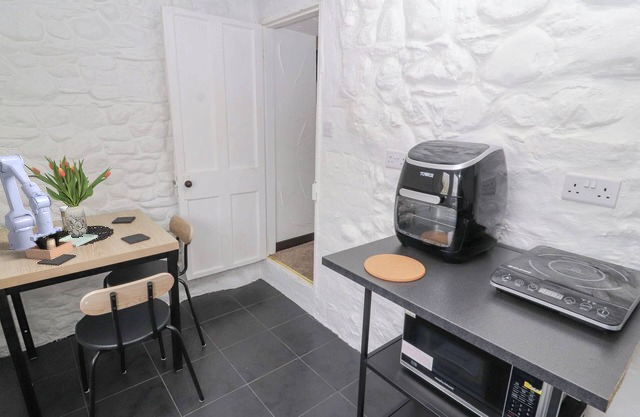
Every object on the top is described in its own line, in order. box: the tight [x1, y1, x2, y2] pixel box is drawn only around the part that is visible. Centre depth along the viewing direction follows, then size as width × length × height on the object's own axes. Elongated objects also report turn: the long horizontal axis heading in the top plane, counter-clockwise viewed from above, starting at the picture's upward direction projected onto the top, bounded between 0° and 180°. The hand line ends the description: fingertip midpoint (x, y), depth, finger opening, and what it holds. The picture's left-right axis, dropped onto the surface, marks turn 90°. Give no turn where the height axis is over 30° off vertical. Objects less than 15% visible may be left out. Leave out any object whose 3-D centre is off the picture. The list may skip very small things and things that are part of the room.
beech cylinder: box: [47, 238, 56, 250], centre depth 159 cm, size 5×5×6 cm
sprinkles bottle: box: [59, 205, 69, 232], centre depth 190 cm, size 5×5×13 cm
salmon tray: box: [24, 241, 74, 261], centre depth 159 cm, size 12×12×4 cm
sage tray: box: [59, 233, 99, 248], centre depth 175 cm, size 14×14×2 cm
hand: (50, 250), depth 160 cm, fingers open, 5 cm apart
